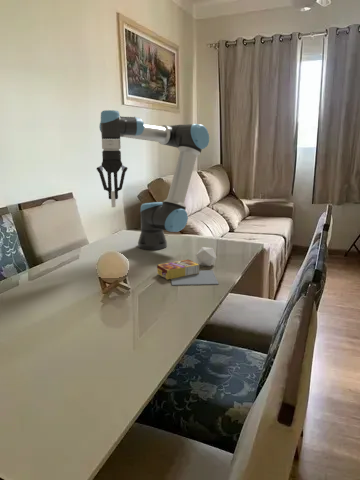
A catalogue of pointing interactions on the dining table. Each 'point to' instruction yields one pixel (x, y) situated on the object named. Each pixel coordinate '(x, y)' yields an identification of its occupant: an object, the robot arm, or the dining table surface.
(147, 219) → the robot arm
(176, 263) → the candy box
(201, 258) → the die
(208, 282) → the felt mat
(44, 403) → the dining table surface
